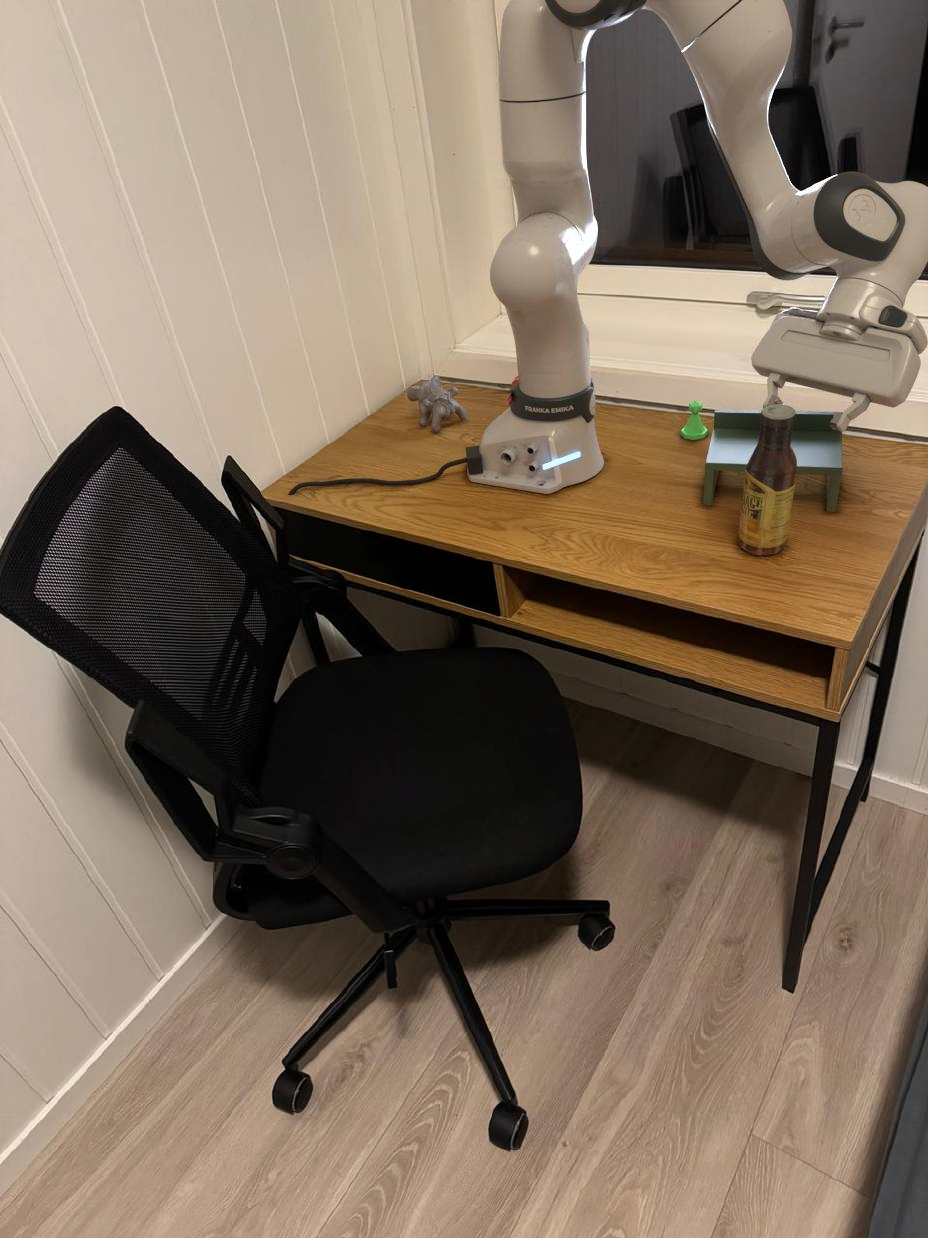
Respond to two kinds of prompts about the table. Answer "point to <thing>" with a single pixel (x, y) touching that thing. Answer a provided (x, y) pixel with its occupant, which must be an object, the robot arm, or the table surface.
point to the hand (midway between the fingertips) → (801, 419)
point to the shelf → (809, 442)
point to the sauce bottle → (769, 484)
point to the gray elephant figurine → (435, 402)
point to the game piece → (694, 423)
